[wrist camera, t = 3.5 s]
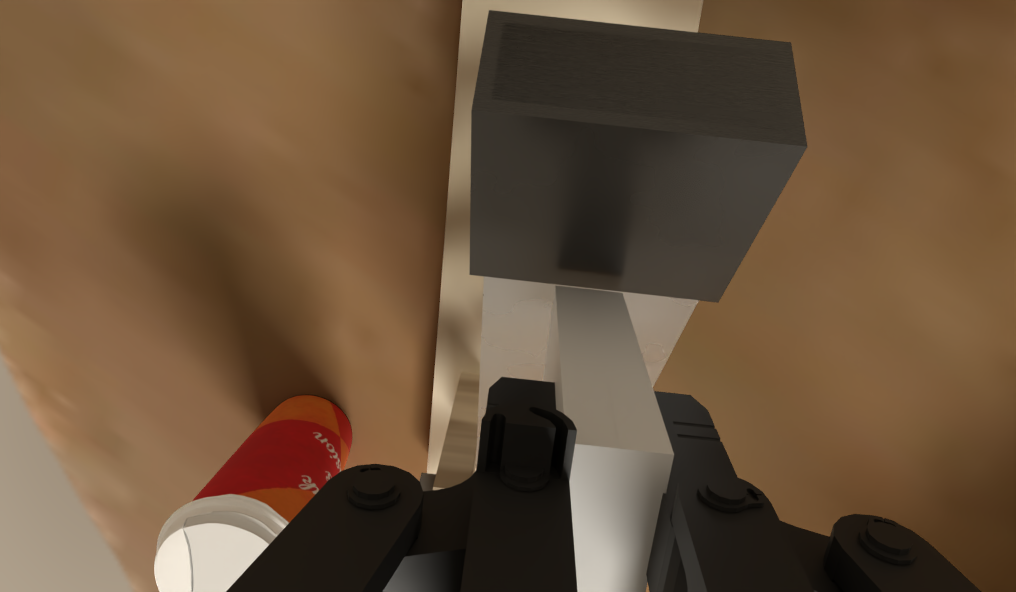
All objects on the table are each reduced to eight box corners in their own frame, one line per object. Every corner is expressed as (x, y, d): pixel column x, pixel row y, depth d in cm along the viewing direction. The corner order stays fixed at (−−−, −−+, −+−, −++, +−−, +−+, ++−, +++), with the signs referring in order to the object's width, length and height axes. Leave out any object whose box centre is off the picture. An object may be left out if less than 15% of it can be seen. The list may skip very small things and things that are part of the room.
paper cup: (348, 498, 50) (278, 664, 36) (239, 458, 49) (128, 613, 36) (385, 403, 47) (324, 544, 34) (271, 360, 46) (163, 487, 33)
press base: (612, 478, 48) (638, 644, 35) (431, 458, 48) (389, 616, 35) (705, -55, 38) (793, -105, 24) (472, -79, 38) (434, -143, 24)
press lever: (584, 487, 37) (582, 540, 35) (473, 474, 37) (466, 527, 35) (790, 42, 14) (807, 146, 12) (488, 9, 14) (471, 109, 12)
